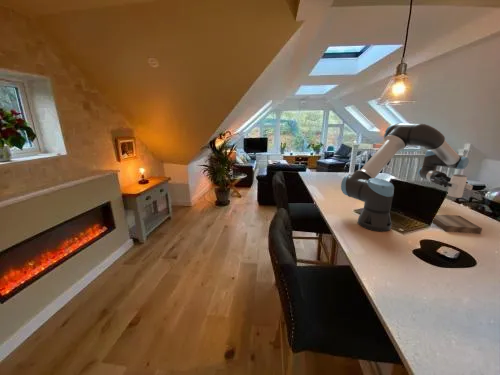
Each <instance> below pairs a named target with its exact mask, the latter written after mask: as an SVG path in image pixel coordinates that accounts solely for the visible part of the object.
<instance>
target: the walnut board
mask: <svg viewBox="0 0 500 375" xmlns="http://www.w3.org/2000/svg"><path fill="white" fill-rule="evenodd" d="M436 214H437V215H436V216H435V218H434V220H433V223H432V224H434V225H436V226H437V227H439V228H440V230H442V231H444V232H448V233H458V234H459V233H462V234H473V235H474V234H475V235H476V234H478V235H481V233H482V230H483V228H482V227H481V226H479V225H477V224H475V223H474V222H471V221H470V220H468V219H466V218H464V217H463V216H460V215H457V214H456V215H455V214H440V213H439V214H438V213H436Z"/></svg>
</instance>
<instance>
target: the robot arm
mask: <svg viewBox="0 0 500 375" xmlns="http://www.w3.org/2000/svg"><path fill="white" fill-rule="evenodd" d="M407 146H414V147H415V146H417V147H422V148H425V149H426V151H425V153H424V158H423V162H422V166H421V167H420V168H419V169H418V171H417V175H418V176H419V177H420V178H421V179H424V180H426V181H429V182H431V184H432V183H434V184H436V185H439V186H443V187H444V188H447V187H448V188H449V187H450V188H453V189H455V190H457V188H458V185H457V184H455V183H452V182H450V180H451V177H449V176H448V175H447V174H446V173H444V172H442V171H439V170H437V168H438V167H443V168H450V169H456V170H465V169H466V168H467V167H468V166H469V162H470V160H469V158H468V157H467V156H462V155H461V156H460V155H459V154H458V153H457V152H456V151H455V150H454V148H452V146H450V144H449V143H448V142H447V141H446V138H445V136H444V134H443V133H442V132H441V131H440V130H438V129H436V128H435V127H434V126H430V125H429V124H425V123H411V122H410V123H407V122H406V123H405V122H404V123H403V122H399V123H397V122H396V123H392V124H390V125H389V126H387V128H386V130H385V131H384V134H383V143H382V145H380V147H379V148H378V149H377V150H376V151H375V153H374V154H373V155H372V156H371V157H370V159H368V160H367V162H366V163H365V164H364V165H363V166H362V168H361V169H357V170H355V171H353V173H352V174H347V175H345V176H343V178H342V180H341V183H340V190H341V192H342V194H343V195H344V196H347V197H348V198H352V199H355V200H358V201H361V202H363V203H364V204H363V209H362V211H361V213H360V214H359V216H358V219H357V224H358V225H359V226H360V227H363V228H365V229H367V230H370V231H374V232H375V231H376V232H388V231H391V228H392V220H391V214H390V213H391V212H390V211H391V208H392V203H393V198H394V194H395V193H394V192H395V186H394V184H393V183H392V182H390V181H388V180H386V179H382V178H377V176H379V174H380V173H381V171H382V170H384V168H385V167H386V166H387V165H388V163H389V162H391V160H392V158H393V157H394V156H395V155H396V154H397V153H398V151H399V152H400V151H403V150H404V149H405V148H407ZM473 187H474V185H472V184H470V183H469V181H466V185H465V188H464V190H468V191H472V190H473Z"/></svg>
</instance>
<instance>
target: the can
mask: <svg viewBox="0 0 500 375" xmlns="http://www.w3.org/2000/svg"><path fill="white" fill-rule="evenodd" d="M467 177H468V176H467V175H464V174H457V173H455V174H453V175H452V176H451V177H450V178H451V180H450V182H452V183H455V184H457V185H458V188H457V190H455V189H453V188H450V187H448V188H447V192H448V194H447V193H446V195H447V196H448V197H450V198H454V199H461V198H462V197H463V194H464V191H465V185H466V182H468V181H467V180H468V178H467Z"/></svg>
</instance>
